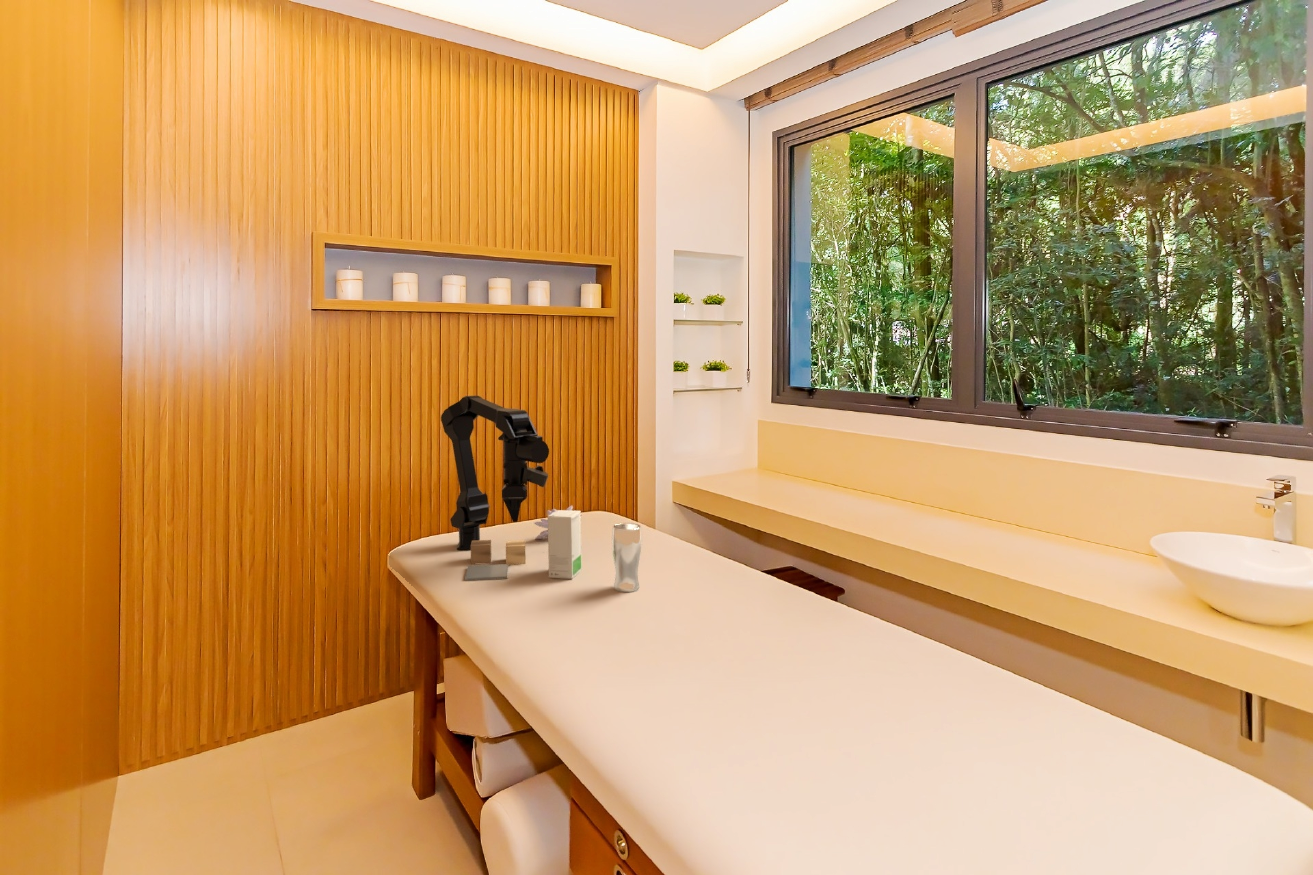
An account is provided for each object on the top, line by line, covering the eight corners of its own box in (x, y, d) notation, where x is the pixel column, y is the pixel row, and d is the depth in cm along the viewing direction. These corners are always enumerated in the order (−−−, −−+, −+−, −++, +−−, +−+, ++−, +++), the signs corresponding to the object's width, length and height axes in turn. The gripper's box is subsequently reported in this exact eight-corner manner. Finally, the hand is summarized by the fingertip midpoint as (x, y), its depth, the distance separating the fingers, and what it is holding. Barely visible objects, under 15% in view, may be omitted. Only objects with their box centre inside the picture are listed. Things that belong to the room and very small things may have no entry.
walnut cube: (472, 558, 194) (471, 540, 193) (491, 557, 195) (491, 539, 194) (471, 564, 189) (470, 545, 188) (490, 563, 190) (490, 544, 189)
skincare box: (572, 579, 177) (571, 517, 175) (546, 577, 178) (545, 516, 176) (582, 569, 185) (582, 509, 183) (557, 567, 186) (557, 508, 184)
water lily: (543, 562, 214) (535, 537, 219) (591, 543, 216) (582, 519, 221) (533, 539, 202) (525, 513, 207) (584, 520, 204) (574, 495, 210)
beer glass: (611, 583, 175) (611, 522, 173) (640, 582, 175) (640, 522, 173) (612, 593, 168) (612, 530, 166) (642, 592, 169) (642, 529, 167)
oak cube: (506, 559, 193) (506, 541, 193) (525, 558, 194) (525, 540, 194) (506, 565, 189) (505, 546, 188) (525, 564, 189) (525, 545, 189)
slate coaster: (468, 568, 185) (467, 565, 185) (507, 566, 187) (507, 564, 187) (464, 580, 176) (464, 578, 176) (507, 578, 177) (506, 576, 177)
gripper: (547, 464, 180) (547, 525, 182) (545, 452, 198) (545, 508, 200) (501, 465, 178) (502, 526, 180) (503, 453, 196) (504, 509, 198)
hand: (515, 517), depth 190 cm, fingers open, 9 cm apart
